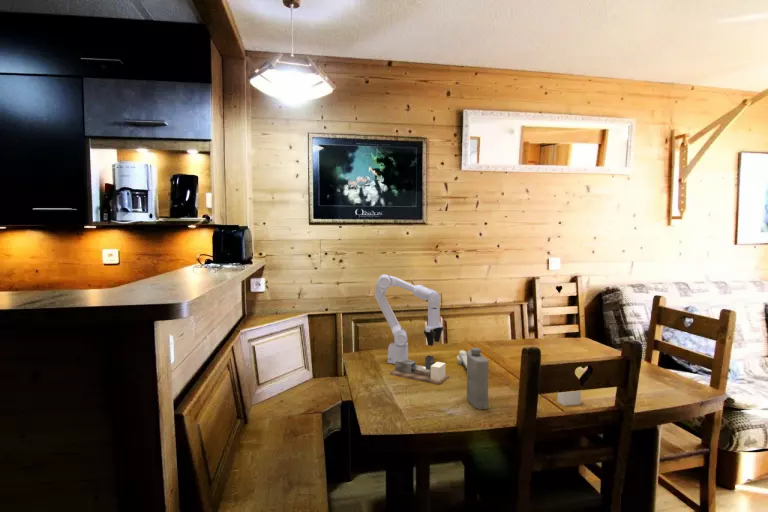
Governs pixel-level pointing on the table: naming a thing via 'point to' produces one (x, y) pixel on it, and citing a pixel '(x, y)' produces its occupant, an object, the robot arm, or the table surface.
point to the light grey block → (569, 398)
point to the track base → (413, 372)
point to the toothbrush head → (462, 358)
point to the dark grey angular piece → (424, 369)
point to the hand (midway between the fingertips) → (433, 343)
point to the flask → (477, 379)
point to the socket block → (438, 371)
